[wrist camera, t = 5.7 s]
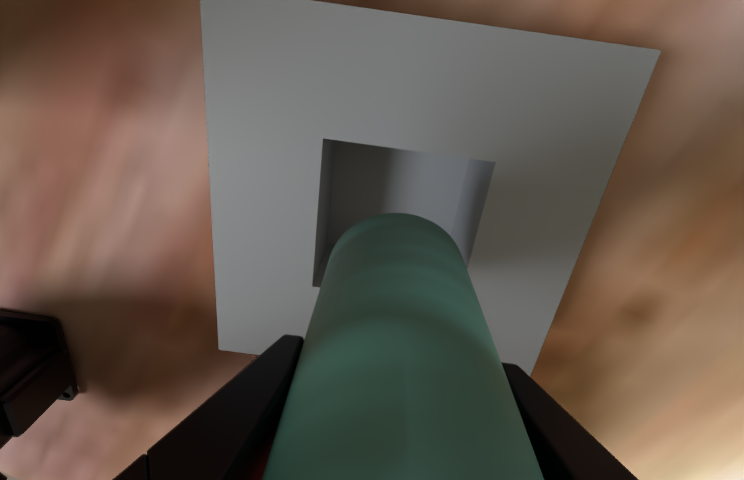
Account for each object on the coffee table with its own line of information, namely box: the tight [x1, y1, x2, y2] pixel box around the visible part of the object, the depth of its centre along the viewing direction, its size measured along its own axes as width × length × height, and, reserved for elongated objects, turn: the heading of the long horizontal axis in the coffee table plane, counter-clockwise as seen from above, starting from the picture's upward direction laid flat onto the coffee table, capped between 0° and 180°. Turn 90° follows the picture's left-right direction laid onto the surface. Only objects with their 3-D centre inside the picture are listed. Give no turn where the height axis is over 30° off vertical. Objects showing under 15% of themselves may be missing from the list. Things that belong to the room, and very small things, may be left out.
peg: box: [261, 213, 544, 480], centre depth 7 cm, size 4×4×10 cm
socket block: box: [200, 0, 661, 376], centre depth 17 cm, size 14×14×5 cm
